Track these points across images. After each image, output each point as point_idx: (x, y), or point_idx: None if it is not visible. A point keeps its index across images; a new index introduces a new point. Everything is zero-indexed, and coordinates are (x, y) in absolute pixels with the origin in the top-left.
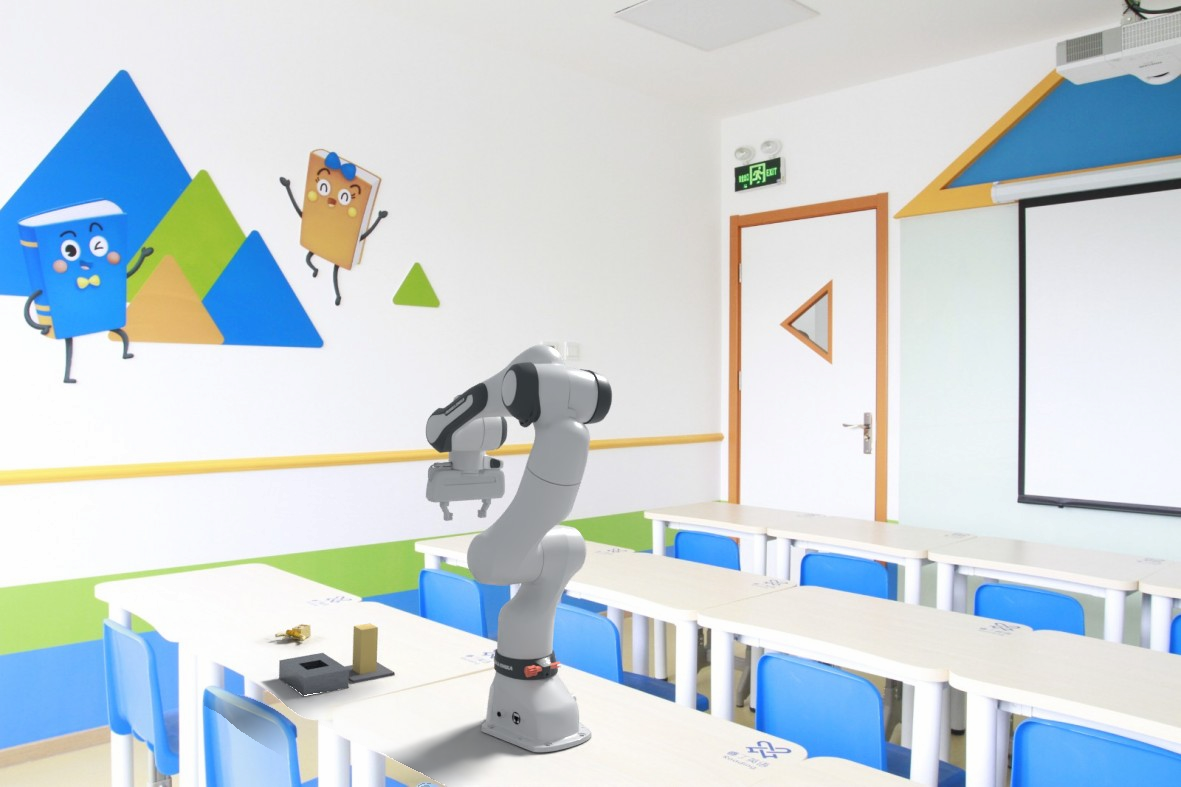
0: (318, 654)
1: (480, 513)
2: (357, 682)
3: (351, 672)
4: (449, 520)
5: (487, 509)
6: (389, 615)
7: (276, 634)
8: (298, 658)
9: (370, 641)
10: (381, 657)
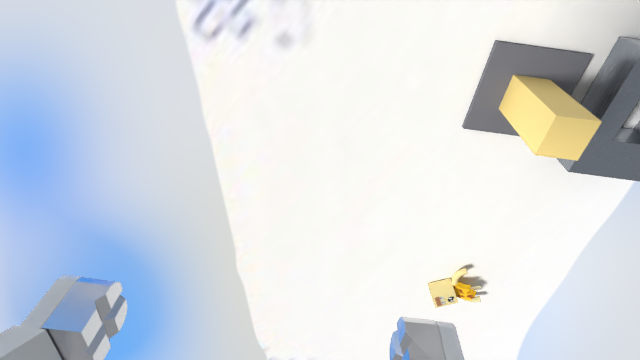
0: (582, 168)
1: (100, 318)
2: (579, 52)
3: None
4: (419, 321)
5: (2, 332)
6: (267, 292)
7: (480, 300)
8: (624, 171)
9: (559, 104)
10: (426, 145)
